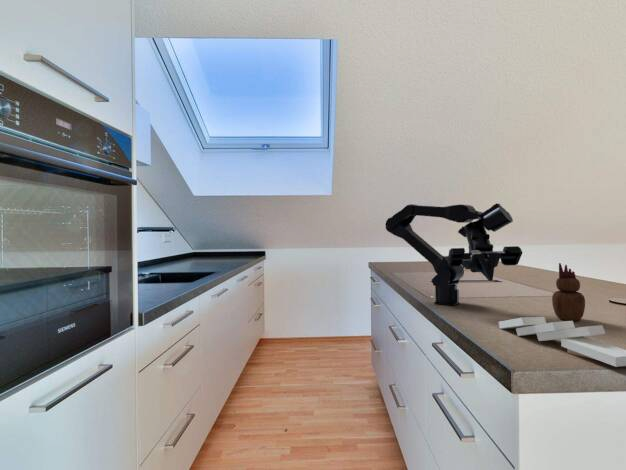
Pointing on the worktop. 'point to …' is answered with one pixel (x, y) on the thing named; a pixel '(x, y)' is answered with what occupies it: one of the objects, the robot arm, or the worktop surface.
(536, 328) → the domino
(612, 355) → the domino
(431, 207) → the robot arm
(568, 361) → the worktop surface
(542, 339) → the domino
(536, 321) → the domino
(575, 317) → the wooden figurine
